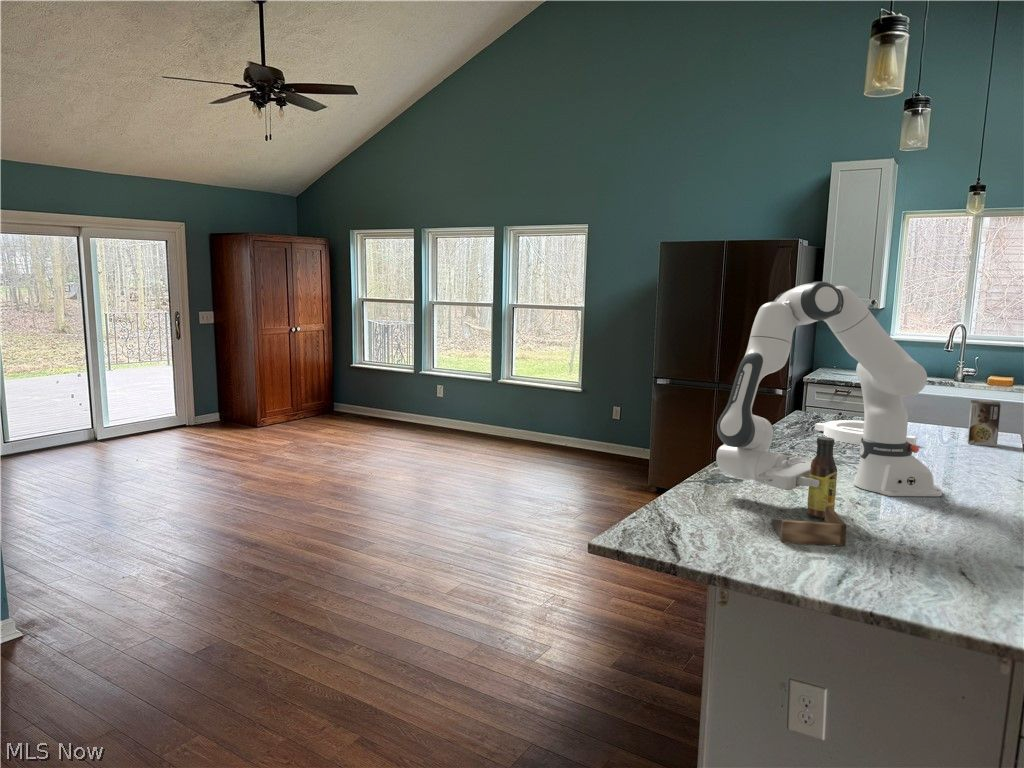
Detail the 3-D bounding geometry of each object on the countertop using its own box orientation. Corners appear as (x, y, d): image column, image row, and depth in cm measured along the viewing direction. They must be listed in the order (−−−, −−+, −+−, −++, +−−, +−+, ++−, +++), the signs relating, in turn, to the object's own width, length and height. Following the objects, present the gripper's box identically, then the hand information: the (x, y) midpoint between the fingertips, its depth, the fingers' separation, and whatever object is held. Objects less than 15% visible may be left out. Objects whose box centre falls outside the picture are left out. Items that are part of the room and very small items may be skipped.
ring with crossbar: (920, 448, 247) (921, 435, 246) (844, 447, 247) (844, 435, 247) (879, 431, 275) (880, 420, 274) (811, 431, 275) (812, 420, 274)
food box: (995, 443, 252) (1000, 401, 250) (997, 447, 247) (1001, 404, 245) (966, 440, 257) (970, 399, 255) (967, 444, 252) (971, 401, 250)
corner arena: (829, 526, 165) (830, 506, 164) (845, 546, 152) (846, 525, 151) (771, 522, 167) (772, 502, 167) (781, 542, 154) (782, 521, 153)
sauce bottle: (832, 520, 166) (837, 442, 163) (805, 516, 170) (810, 439, 167) (835, 513, 172) (841, 437, 169) (809, 508, 175) (814, 434, 172)
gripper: (755, 464, 172) (808, 476, 162) (792, 451, 185) (844, 461, 175) (753, 488, 173) (806, 501, 162) (791, 474, 186) (842, 485, 176)
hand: (826, 480), depth 169 cm, fingers closed on sauce bottle, 6 cm apart
